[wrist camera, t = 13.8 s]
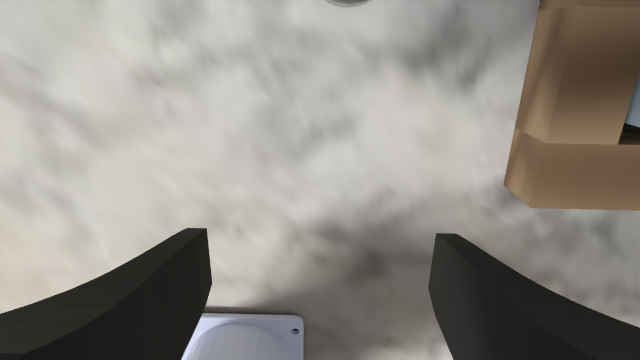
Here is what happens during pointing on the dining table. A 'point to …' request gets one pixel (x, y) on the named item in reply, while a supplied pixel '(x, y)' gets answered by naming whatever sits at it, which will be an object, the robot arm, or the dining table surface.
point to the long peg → (634, 107)
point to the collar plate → (579, 109)
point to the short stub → (347, 2)
